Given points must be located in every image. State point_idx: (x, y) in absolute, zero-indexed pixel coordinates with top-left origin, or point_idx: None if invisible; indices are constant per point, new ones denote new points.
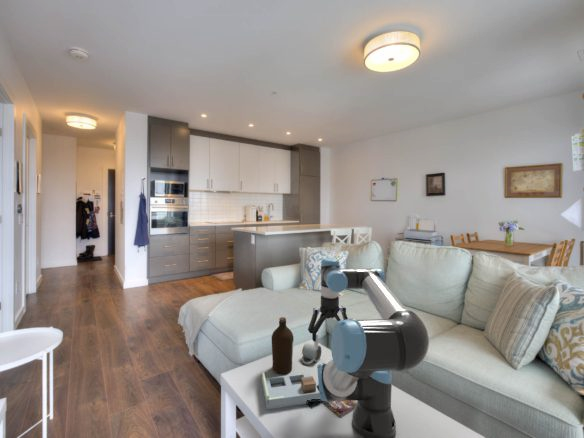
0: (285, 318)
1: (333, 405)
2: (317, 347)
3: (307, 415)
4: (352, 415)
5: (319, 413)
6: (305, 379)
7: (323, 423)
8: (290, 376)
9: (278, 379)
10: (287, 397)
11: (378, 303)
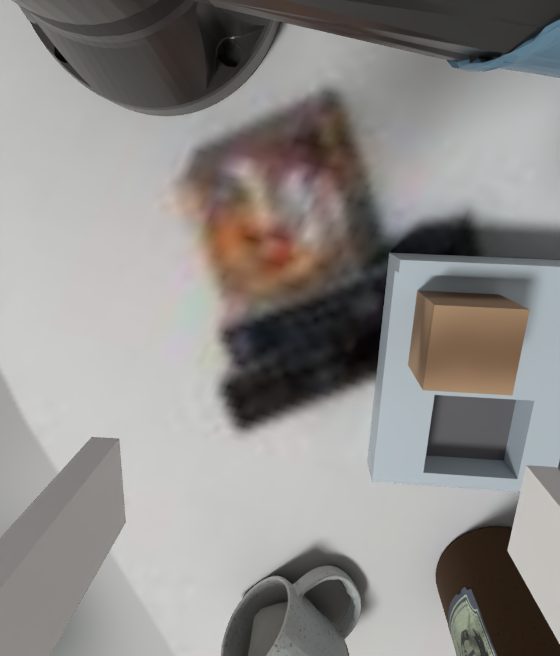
0: None
1: (328, 200)
2: (556, 492)
3: (518, 157)
4: (270, 26)
5: (440, 155)
6: (490, 367)
7: None
8: (507, 477)
9: None
10: None
11: None
